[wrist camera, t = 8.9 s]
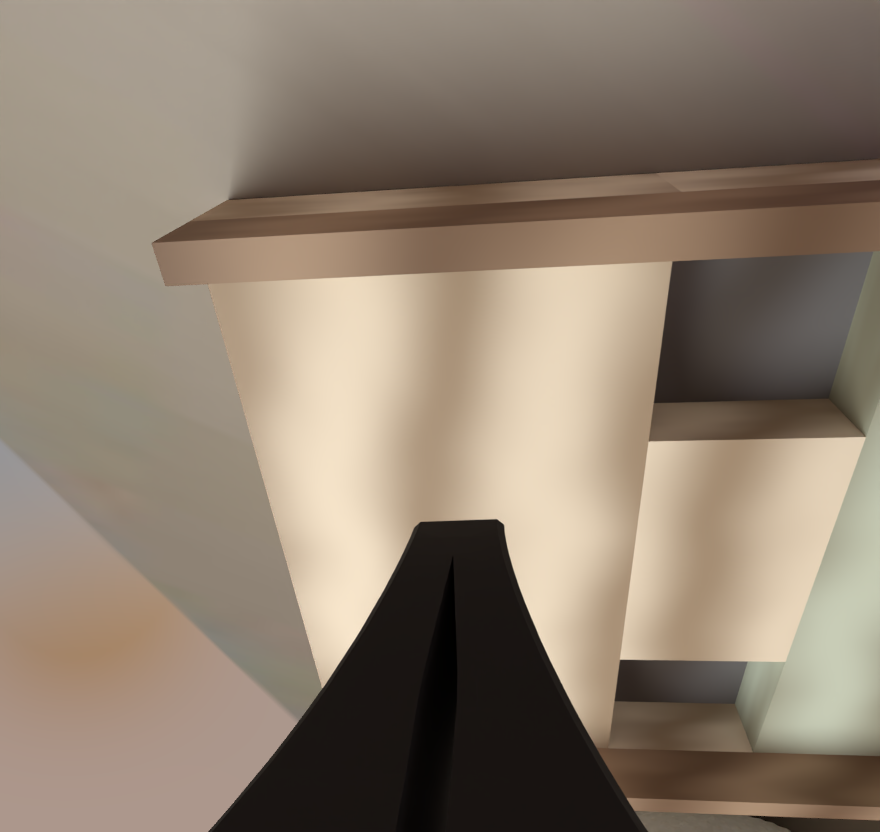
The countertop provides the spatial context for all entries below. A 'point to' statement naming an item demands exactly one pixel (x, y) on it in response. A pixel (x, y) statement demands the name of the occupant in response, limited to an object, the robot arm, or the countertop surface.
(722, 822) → the cereal bowl
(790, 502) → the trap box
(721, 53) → the countertop surface
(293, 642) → the countertop surface
